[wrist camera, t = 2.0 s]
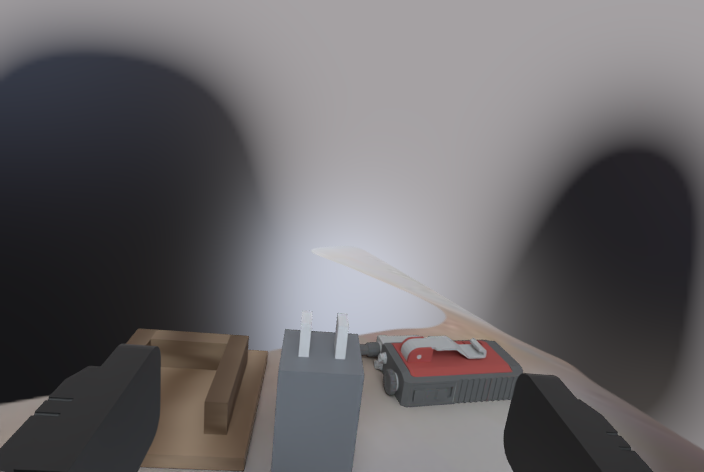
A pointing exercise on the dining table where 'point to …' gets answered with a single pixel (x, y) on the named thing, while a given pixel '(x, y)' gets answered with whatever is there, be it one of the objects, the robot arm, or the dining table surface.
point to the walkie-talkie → (443, 369)
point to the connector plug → (317, 399)
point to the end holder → (204, 399)
